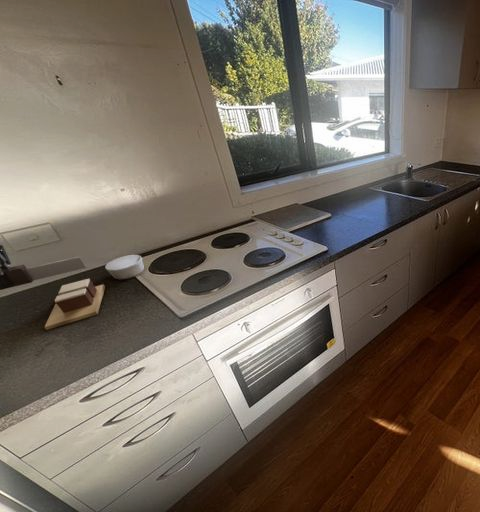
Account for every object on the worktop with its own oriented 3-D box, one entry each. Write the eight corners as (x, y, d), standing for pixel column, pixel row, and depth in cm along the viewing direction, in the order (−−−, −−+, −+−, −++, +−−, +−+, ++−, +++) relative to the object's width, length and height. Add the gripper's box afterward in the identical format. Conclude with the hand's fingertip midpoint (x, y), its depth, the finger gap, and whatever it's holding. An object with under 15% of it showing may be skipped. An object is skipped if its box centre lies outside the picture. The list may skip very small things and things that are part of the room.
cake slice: (63, 313, 92) (54, 301, 90) (66, 307, 95) (56, 295, 92) (92, 304, 96) (83, 293, 93) (93, 299, 98) (85, 288, 95)
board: (46, 329, 88) (44, 327, 87) (61, 299, 101) (59, 296, 100) (97, 314, 93) (95, 311, 93) (105, 286, 106) (103, 284, 106)
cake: (67, 305, 96) (58, 293, 93) (70, 297, 100) (62, 285, 97) (94, 297, 99) (86, 285, 96) (96, 289, 103) (89, 278, 100)
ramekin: (141, 277, 111) (135, 266, 108) (106, 284, 108) (99, 272, 105) (150, 263, 120) (145, 252, 117) (118, 268, 117) (112, 257, 114)
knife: (-14, 293, 80) (-27, 278, 78) (-10, 288, 82) (-23, 274, 80) (85, 269, 90) (76, 255, 88) (87, 265, 92) (78, 252, 90)
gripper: (-44, 224, 78) (1, 277, 87) (-75, 244, 68) (-20, 301, 76) (-4, 218, 81) (35, 269, 90) (-27, 236, 71) (20, 291, 80)
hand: (10, 283), depth 83 cm, fingers closed on knife, 2 cm apart
